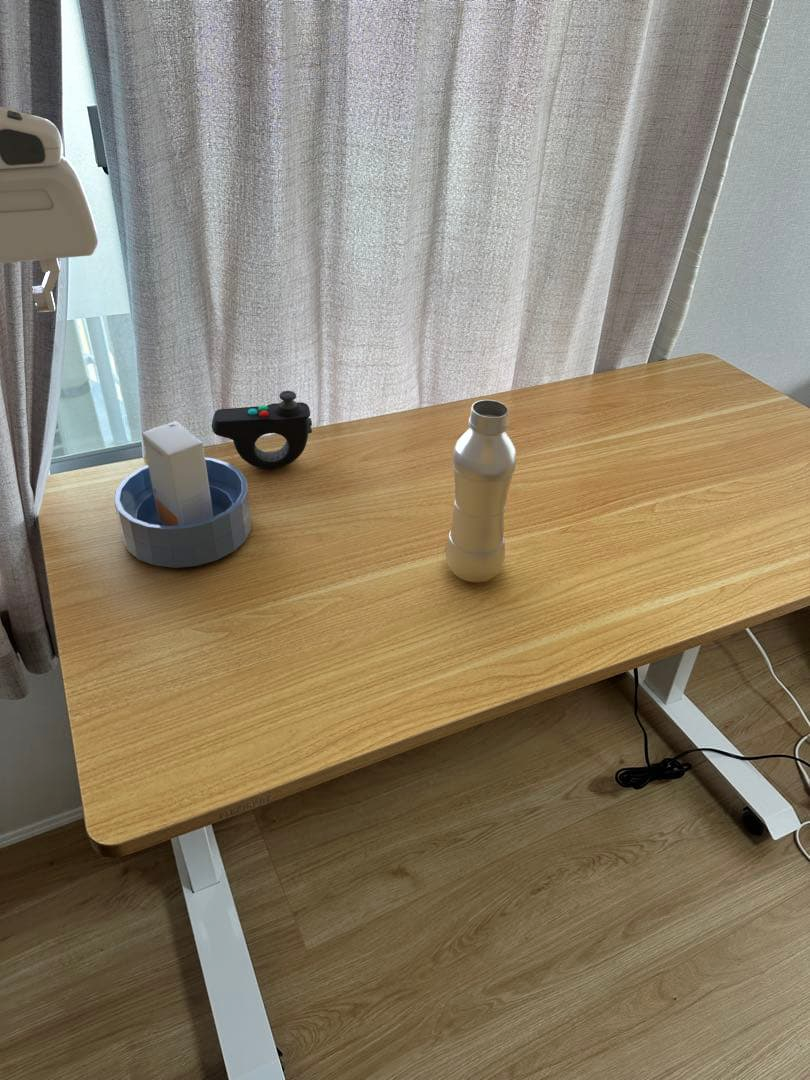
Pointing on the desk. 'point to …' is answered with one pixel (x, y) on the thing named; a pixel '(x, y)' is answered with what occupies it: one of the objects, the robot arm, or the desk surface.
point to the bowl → (184, 541)
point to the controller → (266, 430)
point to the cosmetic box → (178, 475)
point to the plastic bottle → (481, 493)
